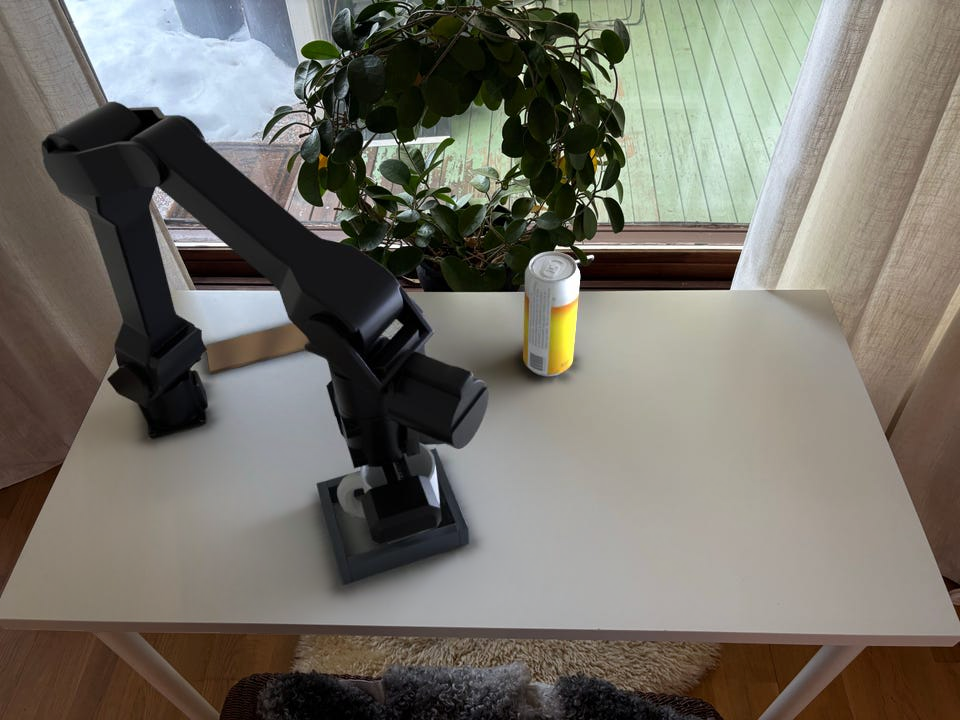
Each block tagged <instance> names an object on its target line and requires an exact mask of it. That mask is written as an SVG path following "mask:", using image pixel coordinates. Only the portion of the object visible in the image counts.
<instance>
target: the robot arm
mask: <svg viewBox="0 0 960 720" xmlns="http://www.w3.org/2000/svg"><path fill="white" fill-rule="evenodd" d="M40 151H41V154H42V162H43V166H44V168H45V170H46V172H47V174H48V176H49V177H50V178H51V180H52V181H53V183H54V184H55V185H56V188H57V190H58V192H59V193H60V194H61V195H63V196H64V197H65V198H67V199H69V200H70V201H72V202H73V203H74V204H77V205H78V206H79V207H81V208H83V210H85V211H86V213H87V215H88V218H89V220H90V223H91V226H92V229H93V232H94V236H95V239H96V242H97V245H98V248H99V250H100V254H101V257H102V260H103V263H104V266H105V269H106V272H107V275H108V278H109V282H110V284H111V287H112V290H113V293H114V296H115V300H116V302H117V303H116V304H117V306H118V309H119V312H120V315H121V318H122V323H121V325H120V328H119V330H118V334H117V336H116V339H115V341H114V345H113V347H114V353H115V359H116V364H117V366H118V368H117V369H116V370H115V371H114V372H113V373H111V375H109V376H108V377H107V378H106V381H108V383H109V384H110V386H111V387H112V388H113V390H114V391H115V392H116V393H117V395H120V396H121V397H124V398H125V399H127V400H130V401H132V402H133V403H135V404H137V406H138V408H139V410H140V412H141V414H142V416H143V418H144V420H145V422H146V426H147V428H146V429H147V436H148V438H149V439H152V440H153V439H157V438H160V437H164V436H165V437H166V436H168V435H171V434H172V435H173V434H175V433H179V432H183V431H187V430H191V429H194V428H197V427H202V426H205V425H206V424H207V423H208V419H207V414H206V413H207V412H206V410H207V409H208V407H209V404H208V398H207V392H206V390H205V387H204V384H203V382H202V380H201V377H200V374H199V372H198V371H197V370H196V369H193V370H192V369H191V368H192V367H193V366H194V365H196V364H197V363H199V362H201V360H202V356H203V354H204V353H205V352H207V351H206V350H207V349H206V344H205V343H204V340H203V330H202V329H200V328H198V327H197V326H196V325H195V324H194V323H192V322H191V321H189V320H187V319H186V318H183V316H180V315H179V314H177V312H176V309H175V304H174V301H173V298H172V293H171V289H170V285H169V281H168V276H167V273H166V268H165V265H164V261H163V257H162V253H161V249H160V244H159V241H158V237H157V233H156V229H155V224H154V219H153V216H152V213H151V207H150V204H151V201H152V199H153V196H154V193H155V190H156V188H159V189H160V190H161V191H162V192H163V193H165V194H166V195H167V196H168V197H169V198H170V199H172V200H173V201H174V202H175V203H176V204H177V205H178V206H180V207H181V208H182V209H183V210H185V211H186V212H187V213H188V214H189V215H190V216H192V217H193V218H194V219H196V220H197V221H198V222H199V223H200V224H201V225H203V226H204V227H205V228H206V229H207V230H208V231H209V232H211V233H212V234H213V235H214V236H216V237H217V238H218V239H219V240H220V241H222V242H223V244H225V245H226V246H227V247H229V248H230V249H231V250H232V251H234V253H235V254H237V255H238V256H239V257H240V258H242V259H243V260H244V261H245V262H246V263H247V264H249V265H250V266H251V267H252V268H254V270H256V271H257V272H258V273H259V274H261V276H263V277H264V278H265V279H266V280H268V281H269V282H270V284H271V285H272V286H273V287H274V288H275V289H276V290H278V292H279V295H280V297H281V300H282V303H283V306H284V310H285V312H286V315H287V318H288V320H289V321H290V322H291V324H292V323H293V324H294V325H295V326H296V327H297V328H298V329H299V330H300V331H301V332H302V333H303V334H304V335H305V336H306V337H307V339H308V340H309V341H308V342H307V343H306V344H305V346H304V347H305V349H306V350H305V351H307V352H309V353H311V354H314V355H316V356H317V357H321V358H322V359H325V360H326V362H327V365H328V369H329V374H330V378H331V379H330V380H329V382H328V383H327V384H326V391H327V394H328V398H329V402H330V405H331V408H332V412H333V415H334V417H335V420H336V422H337V426H338V429H339V432H340V435H341V436H342V437H343V438H344V439H345V443H346V446H347V450H348V453H349V456H350V460H351V463H352V466H353V469H354V470H355V469H358V468H360V467H362V466H365V465H366V467H381V469H382V472H383V475H384V478H385V481H386V484H385V485H381V486H378V487H375V488H371V489H369V490H368V491H367V492H366V493H365V494H364V495H361V496H360V498H359V500H360V502H361V504H362V508H363V511H364V515H365V519H364V520H365V522H366V525H367V529H368V532H369V535H370V538H371V542H373V543H375V544H377V545H379V546H383V545H384V544H385V545H386V544H387V543H388V542H391V541H394V540H397V539H401V538H404V537H407V536H410V535H413V534H416V533H419V532H423V531H426V530H429V529H432V528H435V527H438V528H439V525H440V523H441V522H442V520H443V519H442V509H441V510H440V508H441V505H440V506H439V503H438V500H437V498H436V495H435V493H434V490H433V487H432V485H431V482H430V480H429V478H428V477H425V476H421V475H415V476H412V475H411V473H410V471H409V468H408V465H407V463H406V460H405V457H404V454H406V455H407V457H410V456H414V455H417V454H421V451H420V443H421V444H424V445H426V446H430V445H431V446H433V445H447V446H448V447H451V448H454V449H456V450H460V449H463V448H465V447H467V446H468V444H469V443H470V442H471V441H472V440H473V438H474V437H475V436H476V434H477V432H478V431H479V428H480V427H481V424H482V422H483V420H484V417H485V415H486V412H487V408H488V403H489V399H490V389H489V387H488V386H487V385H486V382H485V381H484V380H482V379H480V378H477V377H475V376H474V374H473V372H472V371H471V370H468V369H466V368H463V367H460V366H456V365H452V364H448V363H445V362H443V361H440V360H437V359H435V358H433V357H430V356H428V355H427V354H426V349H425V345H426V343H427V342H428V341H429V340H430V339H431V338H432V337H433V335H434V334H435V330H434V329H433V327H432V326H431V324H430V323H429V322H428V320H427V319H426V318H425V316H424V314H423V313H424V310H423V309H422V308H421V307H420V306H419V305H418V304H417V303H416V301H414V299H412V297H411V296H410V295H409V294H408V292H407V291H406V290H405V289H404V287H403V286H402V284H401V283H400V282H399V281H398V279H397V278H396V276H395V275H394V274H393V273H392V272H391V271H390V270H389V269H387V268H386V267H385V266H384V265H382V264H381V263H379V262H378V261H376V260H375V259H373V257H370V256H369V255H368V254H366V253H365V252H363V251H362V250H360V249H359V248H358V247H356V246H354V245H352V244H350V243H344V242H341V241H340V242H339V241H335V240H331V239H326V238H323V237H321V236H319V235H318V234H316V233H315V232H313V231H312V230H310V229H309V228H308V227H307V226H305V225H304V223H302V222H301V221H299V220H298V219H297V217H295V216H294V215H292V213H290V212H289V211H288V210H287V209H285V208H284V206H282V205H281V204H279V202H277V201H276V200H275V199H274V198H273V197H271V196H270V195H269V194H268V193H266V192H265V191H264V190H263V189H262V188H260V186H258V185H257V184H256V183H255V182H253V180H251V178H249V177H248V176H246V175H245V174H244V173H243V172H242V171H241V170H240V169H238V167H236V166H235V165H233V163H232V162H230V161H229V160H228V159H227V158H226V157H224V156H223V155H222V154H221V153H219V152H218V151H217V150H216V149H215V148H214V147H213V146H212V145H210V144H209V143H208V142H207V141H206V139H205V136H204V134H203V133H202V130H201V129H200V128H199V126H197V125H196V124H195V123H194V122H193V121H192V120H191V119H189V118H188V117H187V116H184V115H180V114H172V115H171V114H169V115H167V114H166V115H165V114H164V113H163V111H162V110H161V109H160V107H158V106H143V107H142V106H140V107H127V106H126V105H124V104H123V103H120V102H117V101H107V102H105V103H104V104H102V105H100V106H98V107H96V108H95V109H93V110H91V111H89V112H87V113H85V114H84V115H82V116H80V117H78V118H77V119H75V120H72V121H71V122H69V123H67V124H65V125H64V126H62V127H60V128H58V129H56V130H55V131H52V132H51V133H49V134H48V135H47V136H46V137H45V138H44V140H42V141H41V149H40ZM395 321H398V322H399V323H400V324H401V327H400V328H399V329H398V330H397V331H396V332H395V333H394V335H393V336H392V337H391V338H389V337H388V336H386V335H384V333H385V332H386V331H387V330H388V328H390V326H391V325H392V324H393V323H394V322H395ZM394 462H395V465H396V469H397V472H398V475H400V476H399V477H400V479H401V480H398V477H397V474H396V471H395V468H394V465H393V463H394Z"/></svg>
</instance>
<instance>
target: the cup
mask: <svg viewBox="0 0 960 720" xmlns="http://www.w3.org/2000/svg"><path fill="white" fill-rule="evenodd" d="M420 451H421V454H417V455H414V456H410V457H407V455H406V454H404V457H405V460H406V463H407V465H408V468H409V471H410V473H411V475H412V476H415V475H421V476H425V477H428V478H429V480H430V482H431V485H432V487H433V490H434V493H435V495H436V498H437V500H438V503H439V506H440V510H441V511H442V508H441V501H440V499H441V498H440V494H439V491H438V482H437V474H436V465H435V459H434V456H433V454H432V452H431V449H430V447H428V445H424V444H421V443H420ZM393 465H394V468H395V471H396V474H397V477H398V480H401V479H400V477H399V476H400V475H398V472H397V469H396V465H395V462H394V463H393ZM359 471H360V472H357V471H354V472H355V473H354V472H350V473H351V474H350V473H347V474H348V475H347V474H346V475H347V476H346V477H344V478H343V479H342V481H341V483H340V485H339V486H338V489H337V496H338V499H339V502H338V503H339V504H340V506H341V509H343V512H345V513H346V514H348V516H351V517H353V518H356V519H363V520H366V519H365V515H364V511H363V508H362V504H361V501H359V500H358V499H357V498H356V497H354V490H356V489H360V488H363V489H364V493H366V492H367V491H368V490H369V489H371V488H375V487H378V486H381V485H385V484H386V481H385V478H384V475H383V472H382V469H381V467H366V465H365V466H362V467H359ZM438 528H439V526H438V527H435V528H432V529H429V530H426V531H423V532H419V533H416V534H413V535H410V536H407V537H404V538H401V539H397V540H394V541H391V542H388V543H386V545H388V544H391V543H394V542H397V541H400V540H403V539H407V538H410V537H413V536H416V535H419V534H422V533H425V532H428V531H432V530H435V529H438Z"/></svg>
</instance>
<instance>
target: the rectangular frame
mask: <svg viewBox="0 0 960 720" xmlns="http://www.w3.org/2000/svg"><path fill="white" fill-rule="evenodd" d="M430 450H431V452H432V454H433V456H434V459H435V465H436V474H437V482H438V491H439V498H440V499H441V502H442V504H443V506H444V510H445V512H446V514H447V517H448V519H449V522H450V524H448V525H444V526H441V527H438V528H437V529H435V530H432V531H428V532H425V533H422V534H419V535H416V536H413V537H410V538H407V539H403V540H400V541H397V542H394V543H391V544H385V545H381V546H379V547H376V548H373V549H369V550H366V551H364V552H360V553H357V554H353V555H350V556H347V554H346V550H345V546H344V542H343V538H342V535H341V532H340V527H339V524H338V520H337V517H336V516H337V515H336V512H335V508H334V506H333V504H334V505H335V504H337V503H340V502H339V499H338V496H337V489H338V486H339V485H340V483H341V481H342V479H343V478H344V477H346V476H347V475H348V474H351V473H352V472H350V473H347V474H344V475H340V476H337V477H334V478H330V479H327V480H323V481H319V482H316V488H317V492H318V495H319V500H320V503H321V507H322V511H323V516H324V518H325V522H326V523H325V524H326V526H327V530H328V535H329V538H330V542H331V545H332V549H333V554H334V556H335V557H334V558H335V561H336V565H337V569H338V572H339V575H340V579H341V582H342V585H343V586H344V585H347V584H350V583H354V582H357V581H361V580H363V579H366V578H369V577H372V576H375V575H378V574H381V573H384V572H387V571H390V570H393V569H397V568H399V567H403V566H406V565H409V564H412V563H415V562H418V561H421V560H425V559H427V558H430V557H433V556H436V555H437V556H438V555H439V554H443V553H445V552H448V551H452V550H455V549H458V548H460V547H464V546H466V545H469V544H470V536H469V534H470V533H469V532H470V531H469V526H468V524H467V521H466V518H465V516H464V513H463V511H462V509H461V506H460V504H459V501H458V499H457V497H456V494H455V491H454V489H453V485H452V483H451V481H450V479H449V477H448V474H447V472H446V470H445V467H444V465H443V462H442V460H441V457H440V455H439V452H438V449H437V448H432V449H430ZM355 472H360V470H357V471H353V473H355ZM364 494H365V493H364V489H363V488H360V489H356V490H354V497H355V498H358V497H362V496H363V495H364Z"/></svg>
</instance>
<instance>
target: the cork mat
mask: <svg viewBox="0 0 960 720" xmlns="http://www.w3.org/2000/svg"><path fill="white" fill-rule="evenodd" d="M308 341H309V340H308V339H307V337H306V336H305V335H304V334H303V333H302V332H301V331H300V330H299V329H298V328H297V327H296V326H295V325H294V324H293V323H292V322H291V323H287V324H284V325H280V326H275V327H272V328H268V329H263V330H259V331H257V332H252V333H248V334H244V335H240V336H236V337H232V338H227V339H224V340H219V341H216V342H212V343H207V344H205V347H206V349H207V350H206V351H205V352H206V356H207V363H208V369H209V373H210V374H211V375H213V374H215V373H220V372H224V371H227V370H232V369H235V368H239V367H243V366H246V365H252V364H255V363H258V362H262V361H266V360H270V359H274V358H278V357H283V356H285V355H290V354H294V353H298V352H302V351H307V350H306V349H305V347H304V346H305V344H306V343H307V342H308Z"/></svg>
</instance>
